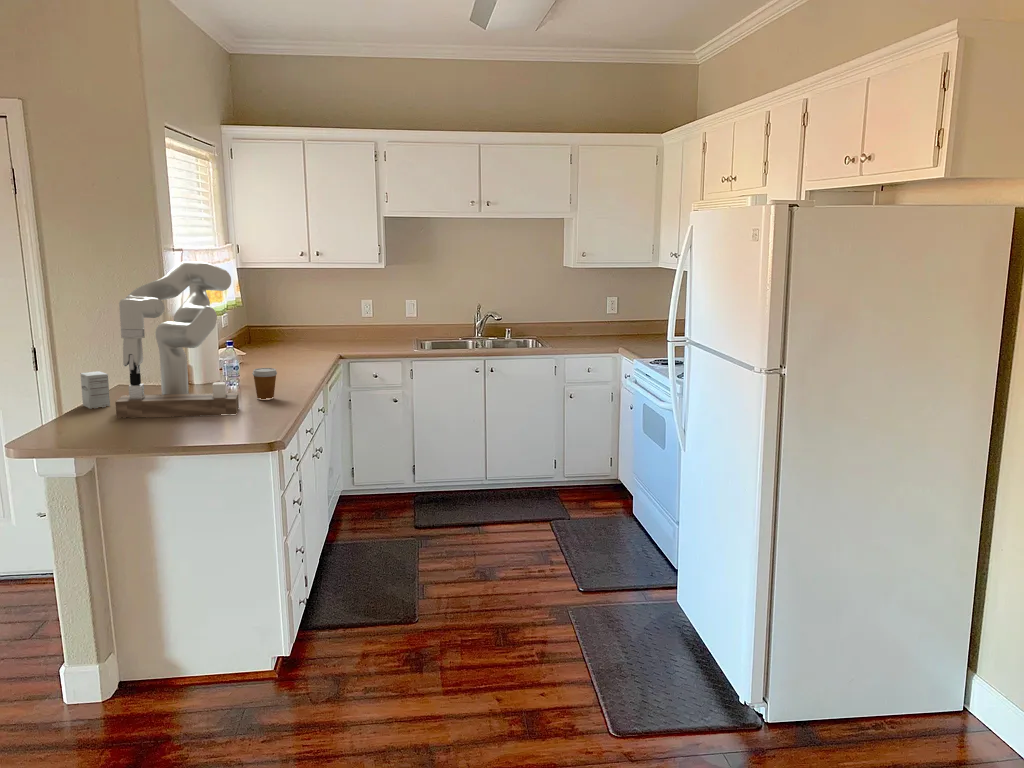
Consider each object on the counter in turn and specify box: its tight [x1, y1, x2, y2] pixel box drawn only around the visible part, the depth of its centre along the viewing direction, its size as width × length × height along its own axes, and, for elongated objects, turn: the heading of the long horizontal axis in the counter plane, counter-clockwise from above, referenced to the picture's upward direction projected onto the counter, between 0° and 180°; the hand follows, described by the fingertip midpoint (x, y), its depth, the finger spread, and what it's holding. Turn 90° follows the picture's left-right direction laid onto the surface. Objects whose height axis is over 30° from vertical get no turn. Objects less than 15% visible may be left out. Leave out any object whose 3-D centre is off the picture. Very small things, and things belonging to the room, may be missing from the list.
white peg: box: [211, 381, 227, 398], centre depth 280 cm, size 4×4×6 cm
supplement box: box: [80, 370, 111, 410], centre depth 284 cm, size 7×7×13 cm
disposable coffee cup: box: [251, 367, 278, 399], centre depth 305 cm, size 10×10×12 cm
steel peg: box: [127, 383, 145, 400], centre depth 273 cm, size 4×4×6 cm
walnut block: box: [115, 392, 240, 419], centre depth 278 cm, size 11×40×6 cm, turn 105°
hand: (135, 384), depth 272 cm, fingers closed
